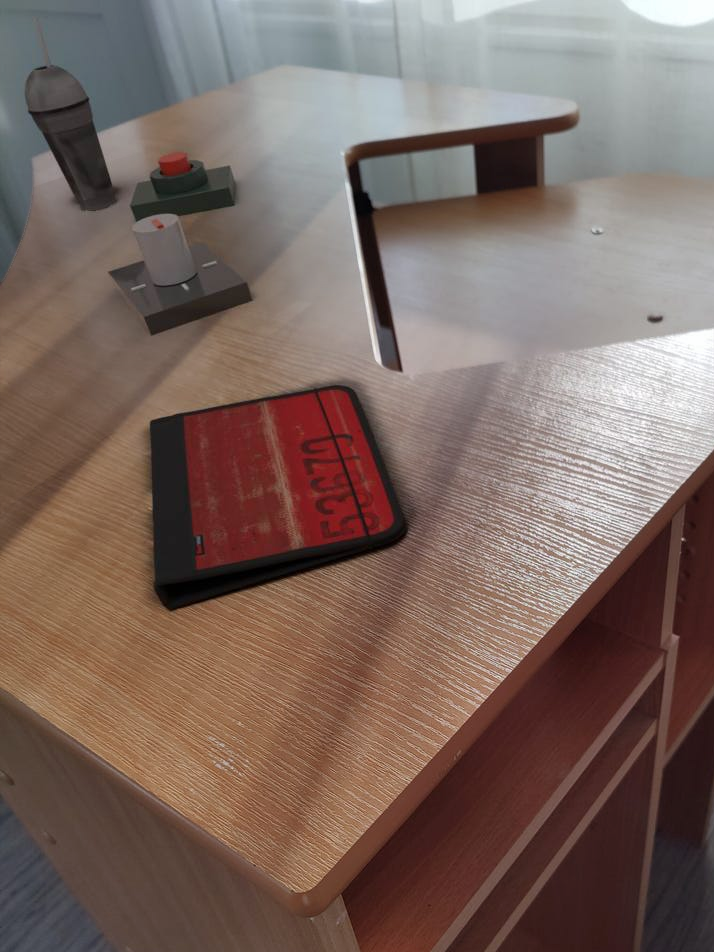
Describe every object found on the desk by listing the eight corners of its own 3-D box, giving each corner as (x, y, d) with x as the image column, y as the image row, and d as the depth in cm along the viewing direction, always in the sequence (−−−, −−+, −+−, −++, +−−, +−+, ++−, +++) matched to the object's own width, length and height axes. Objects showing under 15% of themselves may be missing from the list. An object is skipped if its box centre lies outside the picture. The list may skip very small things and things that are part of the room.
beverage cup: (62, 209, 114) (-17, 26, 100) (114, 191, 117) (44, 11, 103) (83, 220, 110) (4, 30, 95) (136, 201, 112) (66, 15, 98)
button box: (137, 224, 106) (123, 189, 103) (143, 201, 112) (131, 167, 110) (234, 206, 107) (224, 170, 104) (235, 183, 113) (225, 149, 110)
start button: (161, 179, 106) (156, 164, 104) (164, 170, 108) (158, 155, 107) (191, 174, 106) (186, 158, 104) (192, 165, 108) (187, 150, 107)
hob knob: (146, 276, 85) (124, 220, 81) (189, 262, 86) (169, 206, 83) (158, 290, 82) (136, 232, 78) (202, 275, 84) (183, 218, 80)
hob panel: (119, 300, 90) (106, 270, 87) (211, 270, 92) (201, 240, 90) (156, 348, 80) (143, 315, 78) (256, 313, 83) (246, 280, 81)
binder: (150, 584, 52) (145, 417, 66) (163, 613, 53) (155, 443, 68) (411, 521, 54) (350, 374, 69) (416, 551, 56) (356, 400, 70)
